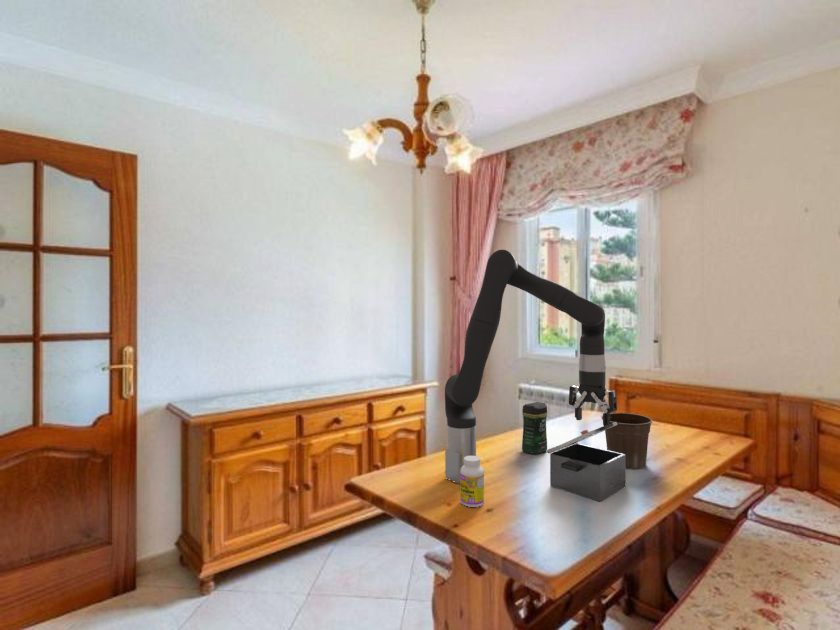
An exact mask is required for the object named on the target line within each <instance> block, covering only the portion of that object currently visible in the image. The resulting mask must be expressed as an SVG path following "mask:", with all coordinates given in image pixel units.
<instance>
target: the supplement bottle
mask: <svg viewBox="0 0 840 630" xmlns="http://www.w3.org/2000/svg"><path fill="white" fill-rule="evenodd" d="M481 463H482V461H481V457H479V456H478V455H476V456H466V457H464V464H465V465H464V466H462V468H461V470H460V484H459V486H460V487H459V490H460V491H459V493H460V494H459V497H460V498H459V501H460V504H461V505H462V504H463V505H462V506H464V505H465V506H464V507H466V506H468V507H467V508H470V507H477V508H480V507H482V506H483V505H484V504H485V470H484V467H482V466H481ZM479 506H480V507H479Z"/></svg>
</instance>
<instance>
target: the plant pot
mask: <svg viewBox="0 0 840 630" xmlns="http://www.w3.org/2000/svg"><path fill="white" fill-rule="evenodd" d="M600 417H601V420H602V421H603V414H602V415H601V416H600ZM614 422H616V423H617V424H618V425H616V426H614V427H611V428H609V429H607V430H605V431H604V432H605V440H606V441H605V442H606V450H609V451H613V452H618V453H622V454H626V470H627V469H628V470H640V469H643V468H645V467H646V466H647V458H648V448H649V447H648V446H649V435H650V432H651V427H652V426H651V425H652V423H653V419H652V418H650V417H649V416H645V415H642V414H638V413H637V414H636V413H629V412H611V413H610V423H609V424H611V423H614ZM603 426H605V425H603Z"/></svg>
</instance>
